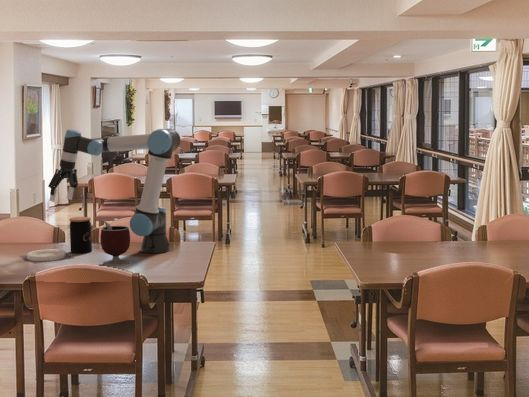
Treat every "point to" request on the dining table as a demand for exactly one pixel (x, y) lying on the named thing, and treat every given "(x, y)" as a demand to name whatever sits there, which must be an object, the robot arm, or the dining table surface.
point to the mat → (46, 261)
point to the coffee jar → (80, 235)
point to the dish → (46, 255)
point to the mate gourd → (115, 243)
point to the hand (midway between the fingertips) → (60, 200)
